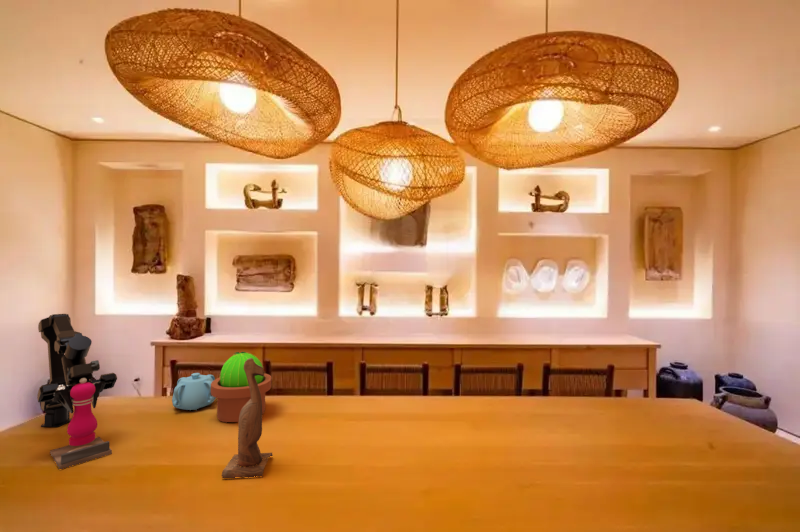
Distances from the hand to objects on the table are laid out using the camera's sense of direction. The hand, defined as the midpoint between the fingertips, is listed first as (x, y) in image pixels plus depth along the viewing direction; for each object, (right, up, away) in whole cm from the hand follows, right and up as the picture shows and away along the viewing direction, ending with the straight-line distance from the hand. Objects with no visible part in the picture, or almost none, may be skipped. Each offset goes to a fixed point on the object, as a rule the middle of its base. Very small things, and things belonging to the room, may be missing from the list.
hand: (83, 410), depth 114 cm
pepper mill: (-1, -10, +1) cm, 11 cm away
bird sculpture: (+54, -14, -8) cm, 57 cm away
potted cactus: (+36, -14, +31) cm, 50 cm away
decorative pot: (+13, -14, +39) cm, 44 cm away
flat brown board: (0, -13, -1) cm, 13 cm away
